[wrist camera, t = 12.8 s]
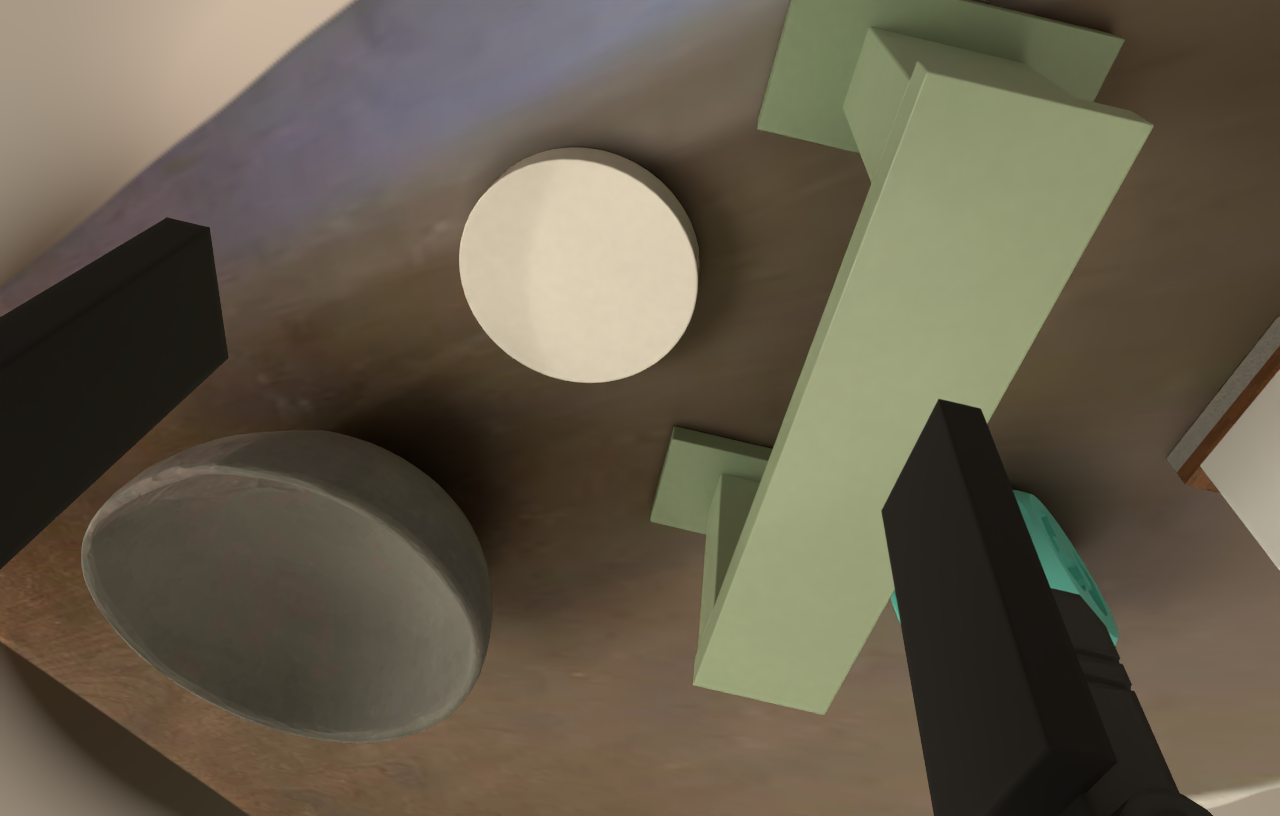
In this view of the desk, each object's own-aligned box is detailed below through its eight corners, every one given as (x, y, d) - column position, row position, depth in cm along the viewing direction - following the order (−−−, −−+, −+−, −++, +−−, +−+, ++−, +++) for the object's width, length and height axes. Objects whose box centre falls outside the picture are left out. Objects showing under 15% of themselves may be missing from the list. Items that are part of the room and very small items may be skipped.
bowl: (359, 650, 56) (290, 783, 48) (130, 444, 47) (-1, 563, 39) (590, 564, 48) (556, 705, 40) (367, 299, 40) (266, 409, 31)
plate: (478, 121, 34) (465, 132, 33) (726, 178, 34) (724, 191, 33) (464, 337, 40) (452, 355, 39) (673, 385, 40) (670, 404, 39)
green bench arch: (801, -41, 29) (825, 0, 19) (1113, 33, 29) (1294, 112, 20) (651, 507, 45) (622, 683, 35) (854, 554, 45) (882, 743, 35)
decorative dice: (950, 610, 47) (981, 730, 40) (875, 528, 44) (896, 643, 37) (1083, 554, 43) (1142, 675, 37) (1010, 461, 40) (1060, 574, 34)
